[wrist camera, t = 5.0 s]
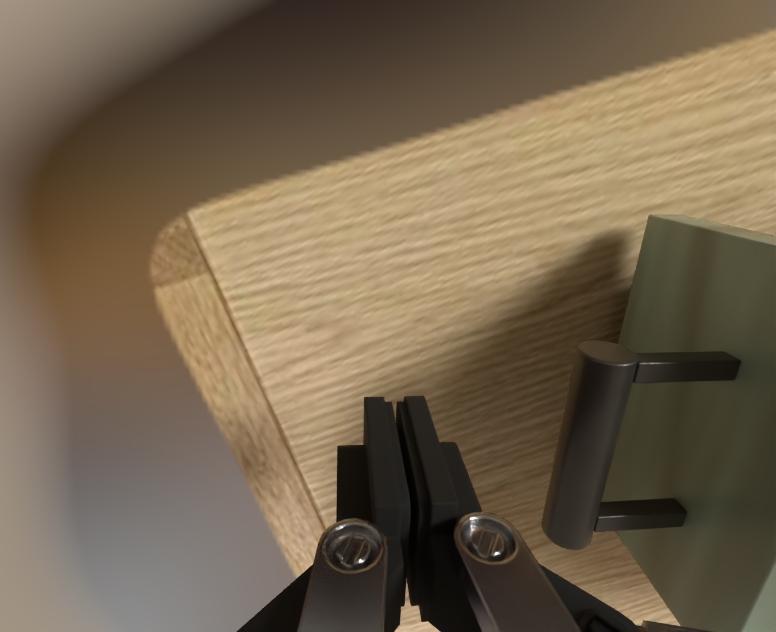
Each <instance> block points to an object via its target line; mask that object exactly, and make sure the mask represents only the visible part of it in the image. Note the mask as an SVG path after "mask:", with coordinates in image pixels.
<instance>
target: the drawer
mask: <svg viewBox="0 0 776 632" xmlns="http://www.w3.org/2000/svg"><path fill="white" fill-rule="evenodd" d="M541 524H542V529H543V531H544V533H545V535H546V536H547V537H548V538H549V539H550V540H551V541H552V542H553V543H555V544H556V545H558V546H560V547H562V548H565V549H569V550H581V549H584V548H585V547H587V546H588V545H589V544H590V542H591V538H592V535H593V531H594V532H609V531H615V532H616V533H617V535H618V536H619V538H620V539H621V541H622V542H623V543H624V545H625V546H626V548H627V549H628V551H629V552H630V553H631V555H632V556H633V558H634V559H635V561H636V562H637V563H638V565H639V566H640V568H641V569H642V571H643V572H644V573H645V575H646V576H647V578H648V579H649V581H650V582H651V584H652V585H653V586H654V588H655V589H656V591H657V592H658V594H659V595H660V596H661V598H662V599H663V601H664V602H665V604H666V605H667V606H668V608H669V609H670V611H671V612H672V614H673V615H674V616H675V618H676V619H677V621H678V622H679V624H680V625H681V626H682V627H688V628H694V629H701V630H707V631H713V632H776V236H773V235H769V234H764V233H760V232H755V231H751V230H746V229H742V228H737V227H733V226H728V225H724V224H719V223H715V222H710V221H706V220H701V219H697V218H692V217H688V216H683V215H649V217H648V221H647V225H646V229H645V233H644V237H643V242H642V246H641V250H640V254H639V258H638V262H637V267H636V271H635V275H634V279H633V283H632V287H631V292H630V296H629V300H628V304H627V308H626V312H625V317H624V321H623V325H622V329H621V333H620V337H619V342H618V344H615V343H611V342H606V341H597V340H591V341H584V342H582V343H580V344H579V345H578V346H577V349H576V354H575V359H574V364H573V369H572V374H571V379H570V384H569V389H568V393H567V398H566V403H565V408H564V413H563V418H562V423H561V428H560V433H559V438H558V443H557V448H556V453H555V458H554V462H553V467H552V472H551V477H550V482H549V487H548V492H547V497H546V502H545V507H544V512H543V517H542V522H541Z"/></svg>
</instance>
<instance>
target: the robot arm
mask: <svg viewBox="0 0 776 632" xmlns="http://www.w3.org/2000/svg"><path fill="white" fill-rule="evenodd" d="M406 577H407V584H408V591H409V598H410V603H411V606H417V605H419V609H420V615H421V621H422V622H425V621H429V623H431V624H432V625H433V626H434V627H436V628H437V629H438V630H439V631H441V632H713V631H707V630H701V629H694V628H688V627H682V626H676V625H669V624H663V623H657V622H651V621H644V620H643V623H642V626H638V625H635V624H634V623H633V622H632V621H631V620H630V619H628V618H627V617H626V616H624V615H623V614H622V613H620V612H619V611H617V610H615V609H614V608H612V607H610V606H609V605H607V604H605V603H604V602H602V601H600V600H599V599H597V598H595V597H594V596H592V595H590V594H589V593H587V592H585V591H584V590H582V589H580V588H579V587H577V586H575V585H574V584H572V583H570V582H569V581H567V580H565V579H564V578H562V577H560V576H559V575H557V574H555V573H554V572H552V571H550V570H549V569H547V568H545V567H544V566H542V565H540V564H539V563H538V562H537V560H536V559H535V557H534V555H533V554H532V552H531V551H530V549H529V548H528V546H527V544H526V543H525V541H524V540H523V538H522V537H521V535H520V533H519V532H518V531H517V530H516V528H515V527H514V526H513V525H512V524H511V523H509V522H508V521H507V520H505V519H504V518H502V517H500V516H497V515H495V514H492V513H486V512H482V509H481V507H480V504H479V501H478V499H477V496H476V494H475V491H474V488H473V486H472V483H471V480H470V478H469V475H468V472H467V470H466V467H465V464H464V462H463V459H462V457H461V454H460V451H459V449H458V446H457V444H456V443H455V442H439V440H438V437H437V433H436V430H435V427H434V424H433V421H432V418H431V415H430V412H429V409H428V406H427V402H426V399H425V397H424V396H405V397H404V401H399V402H397V407H396V422H395V417H394V411H393V406H392V402H385V400H384V397H364V441H363V445H346V446H338V450H337V518H336V523H335V524H333V525H332V526H330V527H328V529H327V530H326V531H325V532H324V533H323V534H322V536H321V538H320V541H319V543H318V546H317V551H316V555H315V559H314V563H313V565H312V566H310V567H309V568H308V569H307V570H306V571H305V572H304V573H303V574H301V575H300V576H299V577H298V578H297V579H296V580H295V581H294V582H292V583H291V584H290V585H289V586H288V587H287V588H286V589H284V590H283V591H282V592H281V593H280V594H279V595H278V596H276V597H275V598H274V599H273V600H272V601H271V602H270V603H269V604H267V605H266V606H265V607H264V608H263V609H262V610H261V611H260V612H258V613H257V614H256V615H255V616H254V617H253V618H252V619H250V620H249V621H248V622H247V623H246V624H245V625H244V626H242V627H241V628H240V629H239V630H238V631H237V632H394V631H395V630H396V629H397V627H398V626H399V625H400V614H401V607H403V606H404V605H405V591H406Z"/></svg>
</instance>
